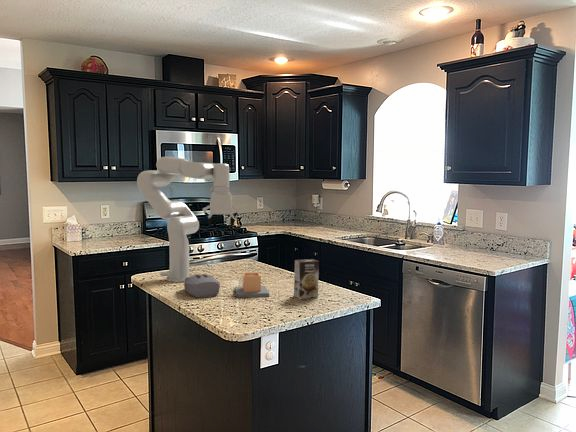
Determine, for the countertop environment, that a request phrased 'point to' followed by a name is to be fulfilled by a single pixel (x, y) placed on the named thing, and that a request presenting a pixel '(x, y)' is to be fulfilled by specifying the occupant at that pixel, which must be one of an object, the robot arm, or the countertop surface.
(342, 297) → the countertop surface
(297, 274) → the coffee box
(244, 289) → the orange cube cubby
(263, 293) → the gray plate with knob
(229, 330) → the countertop surface
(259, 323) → the countertop surface
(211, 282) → the soft grey pack
